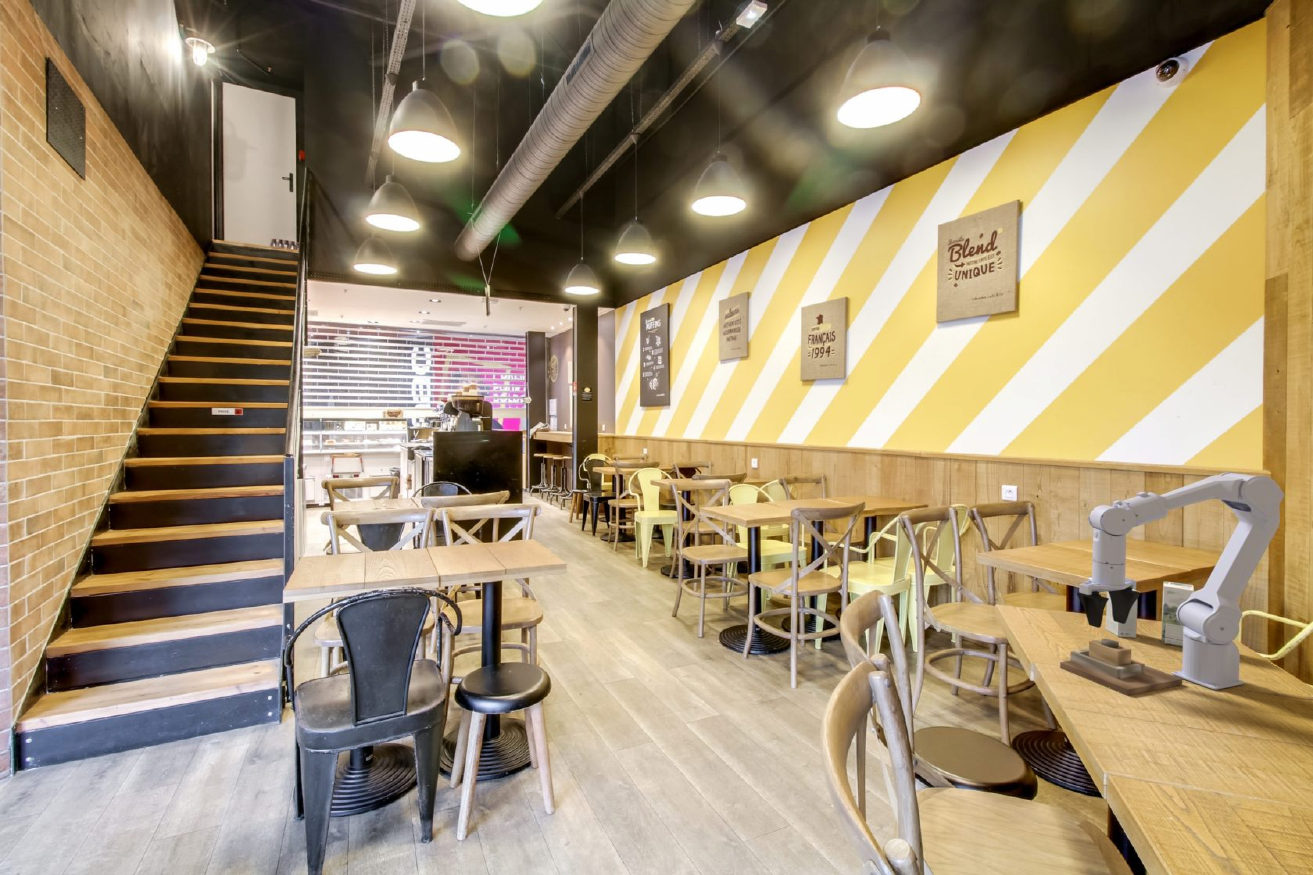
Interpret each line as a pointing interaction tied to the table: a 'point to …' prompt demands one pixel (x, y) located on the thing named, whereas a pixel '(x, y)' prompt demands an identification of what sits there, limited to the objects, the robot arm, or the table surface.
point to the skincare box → (1119, 628)
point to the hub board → (1119, 674)
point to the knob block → (1110, 652)
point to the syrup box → (1173, 611)
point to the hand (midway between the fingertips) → (1107, 624)
